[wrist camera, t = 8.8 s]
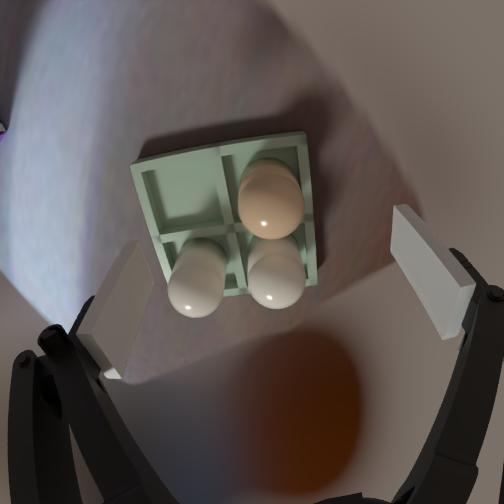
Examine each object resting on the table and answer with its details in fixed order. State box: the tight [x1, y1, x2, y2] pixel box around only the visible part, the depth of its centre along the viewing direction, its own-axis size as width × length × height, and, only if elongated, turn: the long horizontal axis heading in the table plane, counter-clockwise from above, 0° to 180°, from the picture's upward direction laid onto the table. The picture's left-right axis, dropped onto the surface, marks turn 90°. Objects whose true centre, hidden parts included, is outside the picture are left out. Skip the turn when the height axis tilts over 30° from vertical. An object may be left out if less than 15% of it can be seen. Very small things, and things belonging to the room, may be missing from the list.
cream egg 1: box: [168, 237, 227, 318], centre depth 26 cm, size 5×5×7 cm
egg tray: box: [130, 131, 317, 296], centre depth 27 cm, size 14×14×2 cm
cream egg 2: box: [248, 233, 306, 309], centre depth 26 cm, size 5×5×7 cm
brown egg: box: [238, 157, 305, 239], centre depth 23 cm, size 5×5×7 cm
